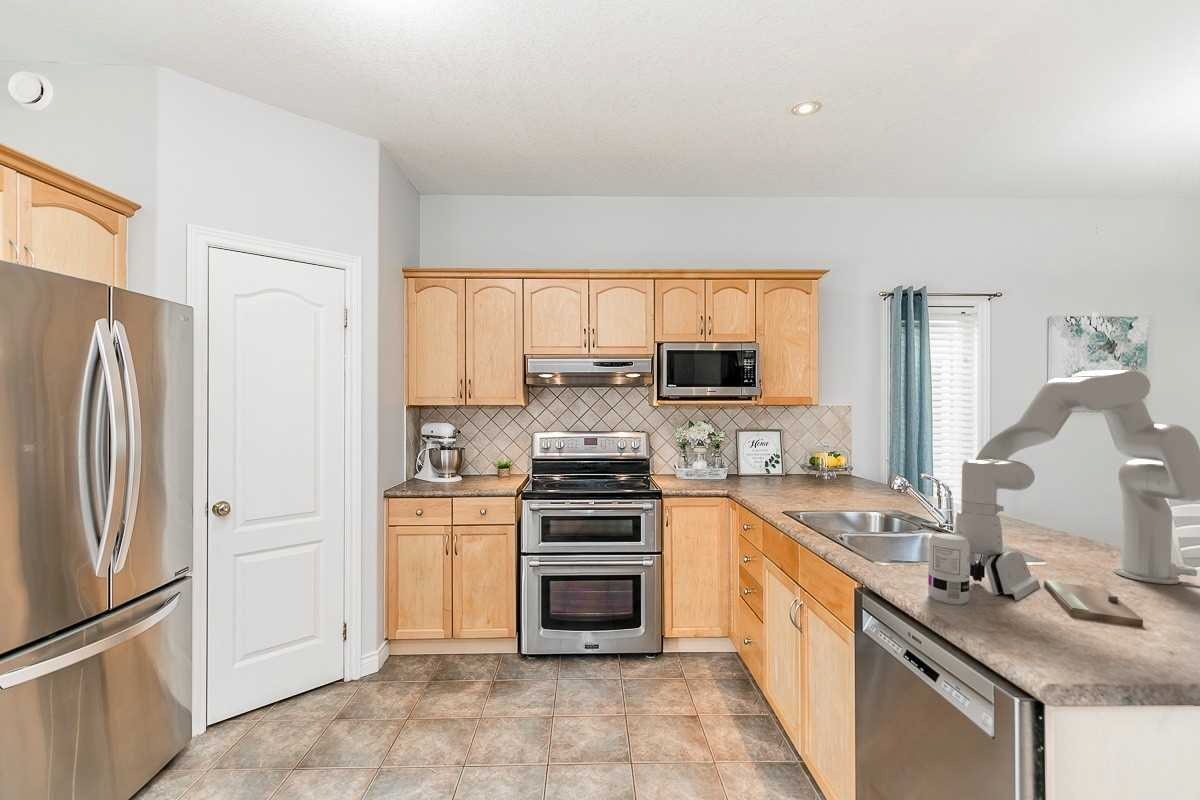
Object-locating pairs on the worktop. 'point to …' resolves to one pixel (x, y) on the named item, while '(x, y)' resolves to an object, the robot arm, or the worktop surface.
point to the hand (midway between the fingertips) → (977, 579)
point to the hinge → (1010, 575)
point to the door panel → (1092, 603)
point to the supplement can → (949, 568)
